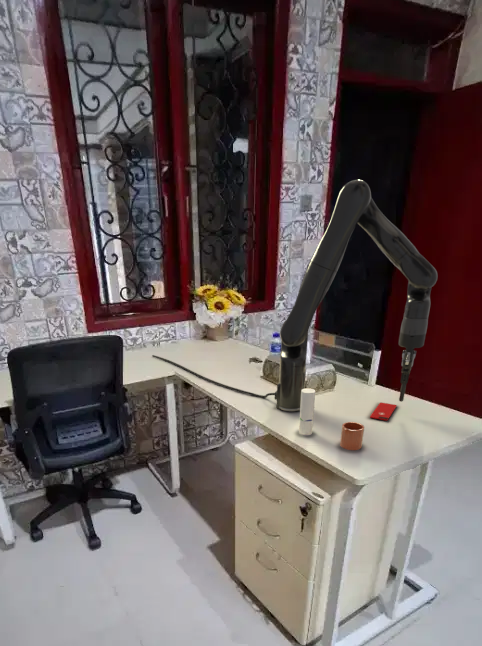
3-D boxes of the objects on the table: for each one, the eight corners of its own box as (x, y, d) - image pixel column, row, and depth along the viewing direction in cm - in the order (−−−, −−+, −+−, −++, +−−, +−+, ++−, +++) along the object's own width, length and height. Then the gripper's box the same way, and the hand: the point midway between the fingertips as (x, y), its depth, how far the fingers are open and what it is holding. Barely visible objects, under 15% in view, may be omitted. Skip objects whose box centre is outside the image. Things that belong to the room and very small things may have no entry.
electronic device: (380, 403, 155) (369, 417, 145) (380, 402, 155) (369, 416, 144) (396, 406, 152) (387, 421, 141) (396, 404, 152) (387, 419, 141)
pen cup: (338, 449, 126) (340, 428, 123) (342, 440, 131) (344, 420, 128) (359, 453, 123) (362, 432, 120) (362, 444, 128) (365, 423, 125)
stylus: (398, 401, 144) (404, 368, 139) (398, 400, 145) (404, 367, 140) (402, 402, 143) (409, 368, 138) (403, 401, 144) (409, 367, 139)
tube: (301, 429, 139) (304, 387, 133) (314, 432, 137) (317, 389, 130) (296, 434, 136) (299, 391, 129) (309, 437, 134) (312, 393, 127)
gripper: (402, 326, 140) (393, 375, 148) (398, 335, 130) (390, 387, 137) (426, 327, 137) (417, 377, 145) (425, 336, 126) (415, 390, 134)
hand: (404, 382), depth 141 cm, fingers closed on stylus, 1 cm apart
